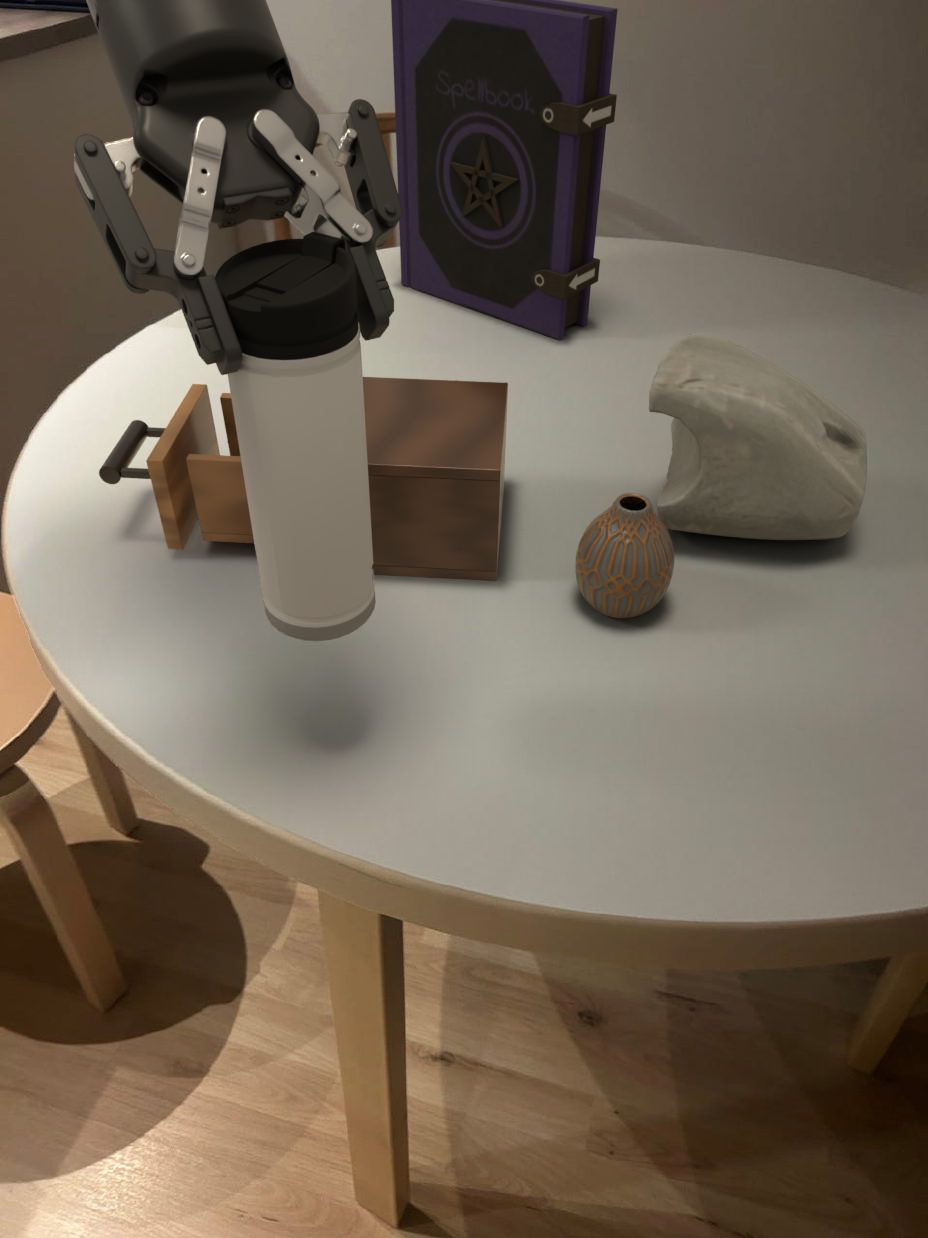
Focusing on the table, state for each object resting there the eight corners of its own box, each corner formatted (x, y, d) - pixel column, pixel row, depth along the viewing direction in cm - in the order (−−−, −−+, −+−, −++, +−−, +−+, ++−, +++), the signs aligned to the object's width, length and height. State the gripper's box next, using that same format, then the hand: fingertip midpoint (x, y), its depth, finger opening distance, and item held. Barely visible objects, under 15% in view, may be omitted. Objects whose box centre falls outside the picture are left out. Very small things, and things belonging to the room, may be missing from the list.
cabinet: (289, 570, 73) (273, 459, 67) (321, 478, 83) (309, 373, 76) (496, 581, 72) (500, 470, 66) (503, 487, 82) (508, 382, 75)
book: (399, 286, 114) (387, -13, 94) (433, 270, 118) (429, -21, 98) (560, 343, 103) (586, 17, 83) (593, 324, 106) (625, 8, 87)
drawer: (103, 545, 74) (77, 457, 68) (151, 464, 82) (131, 380, 77) (356, 559, 73) (348, 470, 67) (378, 475, 81) (372, 391, 76)
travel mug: (400, 592, 56) (388, 246, 43) (332, 658, 52) (295, 297, 38) (314, 557, 58) (277, 219, 45) (242, 618, 54) (178, 264, 41)
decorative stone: (854, 578, 73) (917, 400, 63) (626, 554, 75) (652, 378, 65) (834, 490, 82) (887, 323, 72) (631, 471, 84) (655, 305, 74)
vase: (666, 637, 68) (685, 536, 62) (568, 626, 68) (578, 526, 63) (666, 577, 73) (684, 479, 67) (575, 567, 74) (585, 470, 68)
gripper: (306, 41, 49) (420, 347, 49) (13, 69, 43) (143, 415, 44) (343, -75, 42) (476, 282, 42) (1, -59, 37) (155, 353, 37)
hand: (306, 348), depth 43 cm, fingers closed on travel mug, 6 cm apart
